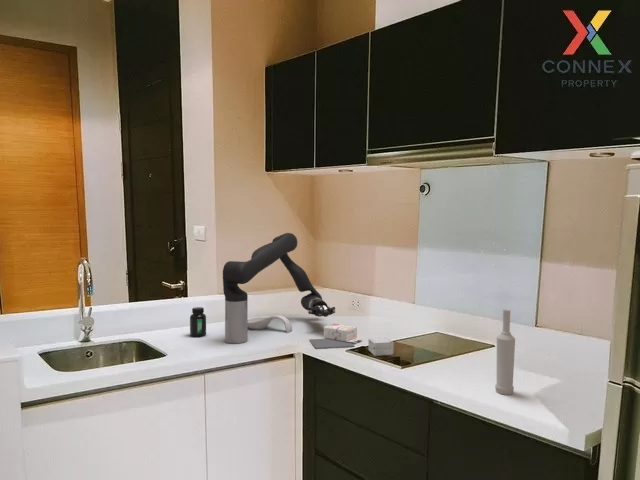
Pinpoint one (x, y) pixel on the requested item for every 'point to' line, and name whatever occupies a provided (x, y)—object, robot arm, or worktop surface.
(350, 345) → the mat
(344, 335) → the ink cartridge box
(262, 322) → the grey arched piece
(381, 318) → the worktop surface
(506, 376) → the bottle
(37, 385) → the worktop surface
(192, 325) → the supplement bottle
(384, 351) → the small box
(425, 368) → the worktop surface
